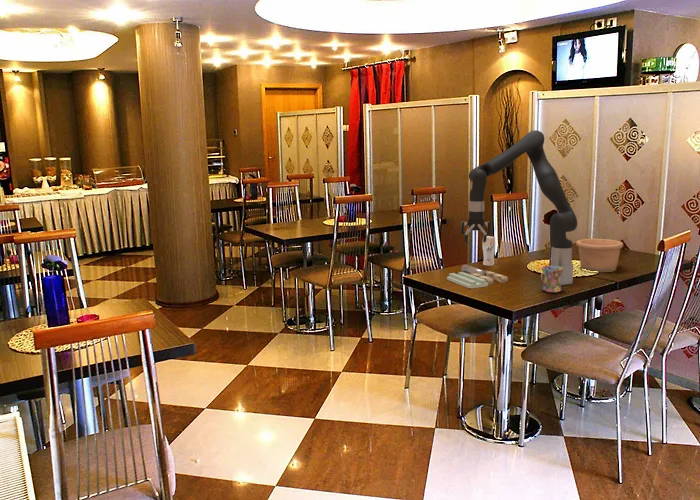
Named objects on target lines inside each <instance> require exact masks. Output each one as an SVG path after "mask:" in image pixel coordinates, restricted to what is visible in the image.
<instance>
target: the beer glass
mask: <svg viewBox="0 0 700 500" xmlns="http://www.w3.org/2000/svg"><path fill="white" fill-rule="evenodd" d="M481 244H482V247H481V248H482V254H483V262H482V265H483V266H495V261H494V259H495V258H494V257H495V251H496V236H490V235H487V237H486V242H485V243H483V240H482V242H481Z"/></svg>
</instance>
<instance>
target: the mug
mask: <svg viewBox="0 0 700 500" xmlns="http://www.w3.org/2000/svg"><path fill="white" fill-rule="evenodd" d="M563 269H564V268H562V267H559V266H551V265H544V266H541V271H542V273H541V274H540V279H541V281H542V283H543V285H542V287H541V290H542V291H544V292H547V293H553V294H555V293H559V292H562V290H563V289H562V285H560V277H561V274H562V271H563Z"/></svg>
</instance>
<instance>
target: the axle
mask: <svg viewBox="0 0 700 500" xmlns="http://www.w3.org/2000/svg"><path fill="white" fill-rule="evenodd" d="M485 271H486V270H483V269H480V268H478V267H474V266H471V265H468V264H463V265H462V266H461V272H464V273H467V274H469V273H472V272H475V273H478V274H480V275H483V276H486V272H485Z"/></svg>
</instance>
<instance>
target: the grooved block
mask: <svg viewBox="0 0 700 500" xmlns="http://www.w3.org/2000/svg"><path fill="white" fill-rule="evenodd" d="M446 280H447V281H450V282H452V283H454V284H457V285H459V286H462V287H464V288H467V289H469V288H471V289H478V288H483V287H489V285H488V283H487V282H486V280H484V279H481V278H478V277H476V276H473V275H470V274H468V273H465V272H463V271H459V272H457V273H456V272H452V273H451V272H450V273H448V276H446Z"/></svg>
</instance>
